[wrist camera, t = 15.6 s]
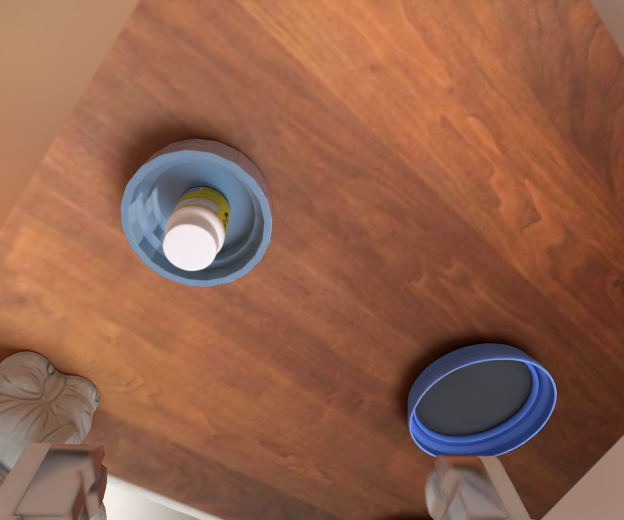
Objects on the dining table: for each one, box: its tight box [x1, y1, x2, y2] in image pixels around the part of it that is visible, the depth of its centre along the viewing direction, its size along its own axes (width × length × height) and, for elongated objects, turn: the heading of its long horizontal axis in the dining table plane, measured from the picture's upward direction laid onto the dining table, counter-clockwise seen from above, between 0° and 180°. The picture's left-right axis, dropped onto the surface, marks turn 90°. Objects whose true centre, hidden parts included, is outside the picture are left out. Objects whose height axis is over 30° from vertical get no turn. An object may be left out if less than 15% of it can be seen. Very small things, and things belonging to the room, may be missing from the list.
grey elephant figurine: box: [0, 352, 107, 520], centre depth 41 cm, size 16×15×19 cm
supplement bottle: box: [163, 184, 231, 271], centre depth 35 cm, size 5×5×8 cm
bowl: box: [407, 343, 556, 457], centre depth 53 cm, size 18×18×4 cm
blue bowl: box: [120, 139, 273, 287], centre depth 38 cm, size 12×12×4 cm
